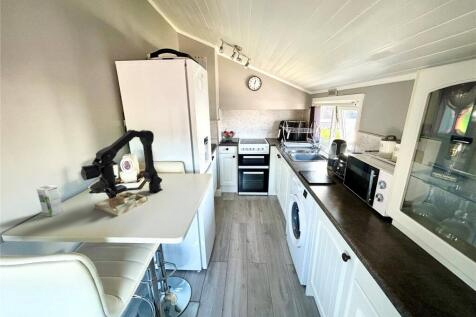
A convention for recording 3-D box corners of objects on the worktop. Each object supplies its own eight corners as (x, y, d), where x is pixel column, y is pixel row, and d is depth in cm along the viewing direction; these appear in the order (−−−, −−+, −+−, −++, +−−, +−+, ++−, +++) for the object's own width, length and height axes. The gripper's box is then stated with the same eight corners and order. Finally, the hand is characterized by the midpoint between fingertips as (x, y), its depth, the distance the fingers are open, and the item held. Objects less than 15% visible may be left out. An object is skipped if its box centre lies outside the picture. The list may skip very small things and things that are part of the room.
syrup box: (42, 215, 96) (35, 188, 92) (56, 209, 102) (49, 184, 98) (51, 216, 95) (43, 190, 91) (64, 210, 100) (57, 185, 97)
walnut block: (119, 202, 104) (117, 195, 103) (125, 204, 102) (123, 197, 101) (109, 206, 100) (108, 199, 99) (115, 208, 98) (114, 201, 97)
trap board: (126, 194, 119) (125, 188, 118) (148, 200, 111) (147, 193, 110) (95, 208, 103) (93, 200, 102) (118, 216, 95) (116, 207, 94)
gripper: (79, 176, 95) (85, 204, 99) (102, 182, 88) (108, 212, 92) (102, 170, 105) (107, 196, 109) (125, 175, 98) (129, 202, 102)
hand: (112, 201), depth 103 cm, fingers closed
